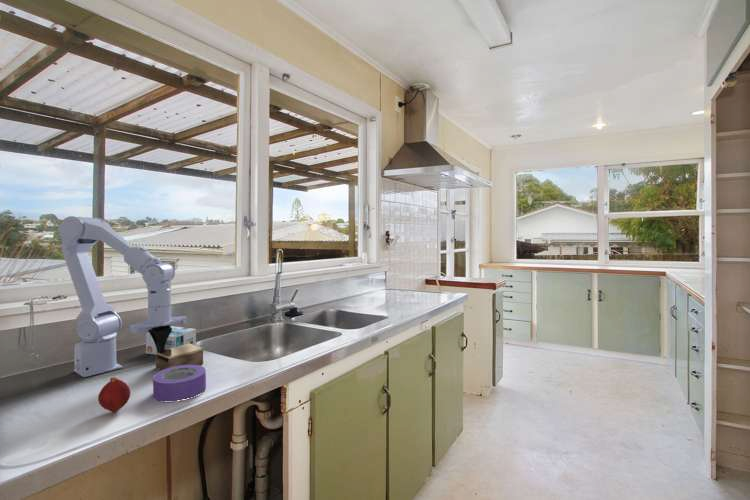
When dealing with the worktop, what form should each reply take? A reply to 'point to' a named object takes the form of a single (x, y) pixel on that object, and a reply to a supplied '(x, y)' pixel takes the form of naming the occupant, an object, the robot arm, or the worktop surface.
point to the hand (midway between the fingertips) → (160, 352)
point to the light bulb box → (173, 339)
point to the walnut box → (179, 360)
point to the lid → (179, 351)
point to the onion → (114, 395)
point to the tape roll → (179, 382)
